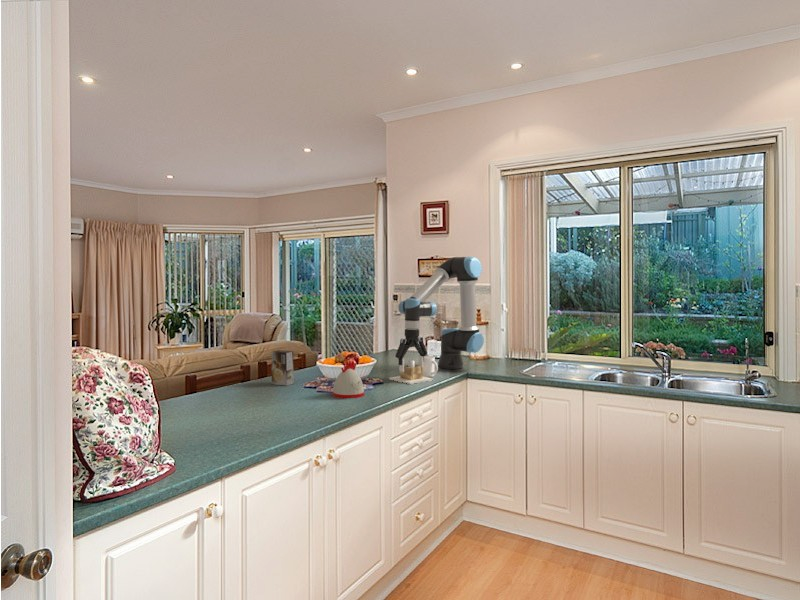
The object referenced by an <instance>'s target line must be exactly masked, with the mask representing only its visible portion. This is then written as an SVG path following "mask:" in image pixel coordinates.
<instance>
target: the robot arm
mask: <svg viewBox="0 0 800 600" xmlns="http://www.w3.org/2000/svg"><path fill="white" fill-rule="evenodd" d="M481 263H482V262H480V260H479V259H478V258H477V257H474V256H458V257H457V256H456V257H455V256H454V257H451V258H449V259H446V260H445V261H443V262H442V263H441V264H440V265H439V266H437V268H436V269H434V273H433V274H432V275H431V276H430V277H429V278H428V279H426V281H425V282H424V283H422V285H421V286H420V287H419V288H418V289H416V291H415V292H414V293H413V294H412V295H411V296H410V297H409V298H406V299H404V300H401V301H400V302H399V304H398V306H397V308H398V311H399V313H400V314H402V315H404V328H405V329H404V337H405V338H400V340H399V341H400V343H399V345H398V348H397V351H396V353H395V358H396V359H398V365H399V367H398V369H399V372H400V371H401V372H404V366H405V358H404V357H405V355H406V354H407V352H408V350H409V349H411V348H415V350H416V351H417V353H418V354H419V355H418V366H421V367H423V362H424V356H428V351H427V349H426V345H425V342H424V338H423V337H421V336H420V318H421V317H433V316H435V315H436V314H437V312H438V306H437V303H435V302H433V301H427V300H428V299H429V298H430V297H431V296H432V295H433V294H434V293H436V291H437V290H438V289H439V288H441V286H442V285H443V284H444V283H447V282H448V281H449V280H451V279H454V278H456V282H457V283H458V284H459V300H460V301H459V303H460V304H459V305H460V326H459V327H455V328H454V327H453V328H443V329H442V330H441V333H440V334H441V335H440V356H439V358H438V362H437V365H438V368H439V367H440V369H444V368H445V370H458V369H459V368H461V369H463V368H464V362H463V358H462V354H461V353H462V352H466V353H469V354H470V353H473V354H475V353H478V352H480V351H481V349H482V348H483V345H484V342H485V341H484V340H485V338H484V335H483V334H482V333H481V332H480V327H478V326H477V306H476V305H477V302H476V301H477V300H476V283H477V282H478V281H479V279H478V278H480V276H481V275H482V273H483V269H482V268H483V267H482V264H481ZM459 370H460V369H459Z"/></svg>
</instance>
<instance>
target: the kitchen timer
mask: <svg viewBox="0 0 800 600" xmlns="http://www.w3.org/2000/svg"><path fill="white" fill-rule="evenodd" d="M356 367H357V363H355V362H354V361H352V362H351V361H346V363H345V364H343V367H340V368H341V372H340V373H339V374H338V376H337V377H336V378H335V380H334V381H335V382H334V384H333V387H332V397H334V396H335V397H334V398H337V397H339V398H338V399H344V398H352V399H358V397H359V398H362V397H364V396H365V390H364V389H365V388H364V384H363V380H362V378H361V377H360V376H359V374H358V373H357V372H356Z"/></svg>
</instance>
